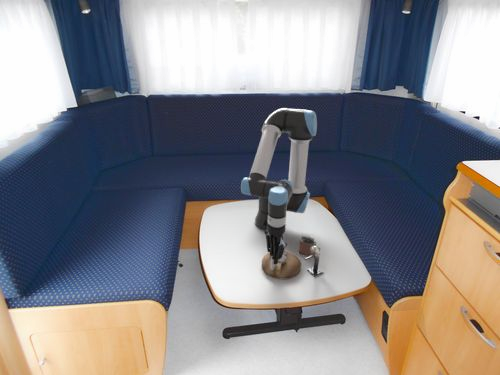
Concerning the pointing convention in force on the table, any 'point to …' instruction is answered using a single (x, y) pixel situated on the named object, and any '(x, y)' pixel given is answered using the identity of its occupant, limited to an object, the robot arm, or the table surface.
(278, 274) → the turntable
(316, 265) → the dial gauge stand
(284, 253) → the cover
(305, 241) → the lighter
